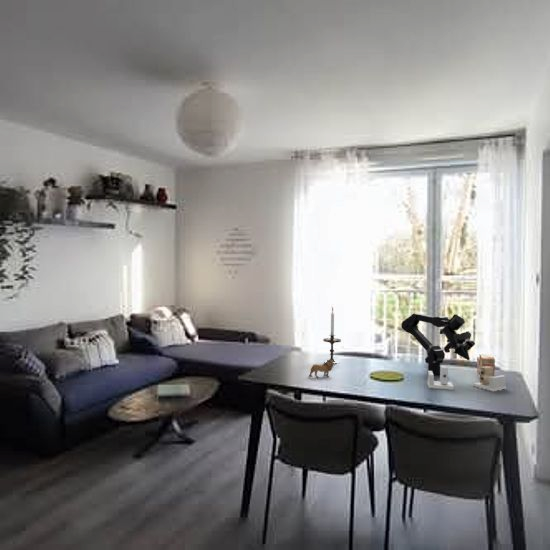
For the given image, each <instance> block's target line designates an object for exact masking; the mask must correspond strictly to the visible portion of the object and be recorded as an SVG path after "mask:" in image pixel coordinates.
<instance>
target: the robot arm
mask: <svg viewBox="0 0 550 550" xmlns="http://www.w3.org/2000/svg"><path fill="white" fill-rule="evenodd" d="M420 322H422V323H423V322H424V323H427V324H428V323H429V324H432V325H433V326H434V327H437V328H441V329H439V335H444V336H445V338H446V339H447V340H446V342H447V344H446V345H445V346H444V347H443V349H442V347H441V346H439V345H433V343H432V342H431V341H430V340H429V339H428V338H427V337H426V335H424V334H423V333H422V332H421V331H420V330H419V327H418V326H419V323H420ZM464 324H466V321H465V319H464V318H462V317H461V316H459V314H456V313H454V314H453V316H452V317H451V318H449V317H448V316H433V315H428V314H424V313H423V314H422V313H419V312H417V313H416V312H415V313H412V314H411V315H410V316H408V317H407V318H405V319H404V320H402V322H401V326H400V327H401V329H402V330H403V331H405V332H406V333H408V334H410V335H412V337H413V338H414V339H415V340H416V341H417V342H418V343H419V344H420V346H422V348H423V349H424V350H425V351H426V355H427V356H426V357H425V358H424V361H425V363H426V364H427V374H428V371H432V372H433V374H434V375H435V376H440V365H441V364H443V362H444V360H445V355H446V354H447V353H451V352H450V351H451V350H453V353H454V354H456V355H458V356H460V357H461V358H463V359H465V360H466V361H470V359H471V358H470V355H469V354H470V353H469V351H470V350H471V349H472V348H473V347H474V346H475V345H476V343H475V341H474V340H468V339H471V337H472V334H471V333H470V331H465V332H462V333H457V332H456V331H459V330H460V328H461V327H462V326H463V325H464ZM445 353H446V354H445Z"/></svg>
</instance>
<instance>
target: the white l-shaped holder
mask: <svg viewBox="0 0 550 550" xmlns="http://www.w3.org/2000/svg"><path fill="white" fill-rule="evenodd" d="M473 386H476V387H475V388H477V387H479V388H478V389H481V388H483V389H482V390H485V389H487V390H486V391H489V390H490V391H489V392H498V391H497V390H499V391H503V390H502V389H505V390H507V376H506V375H503V374H502V375H496V376H495V375H494V377H489V384H482V383H480V381H479V382H475V383H474V382H473V383H472V387H473Z"/></svg>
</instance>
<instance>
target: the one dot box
mask: <svg viewBox="0 0 550 550" xmlns="http://www.w3.org/2000/svg"><path fill="white" fill-rule="evenodd" d="M427 371H428V370H427ZM434 379H435V376H434V374H433V372H432V371H428V373H427V381H426V384H427V386H428V388H429V389H437V390H455V389H454V387H455V386H454V385H453V383H452V381H448V384H441V382H440V380H439V381H438V380H434Z"/></svg>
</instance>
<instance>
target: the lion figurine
mask: <svg viewBox="0 0 550 550" xmlns="http://www.w3.org/2000/svg"><path fill="white" fill-rule="evenodd" d="M326 360H327V362H326V363H323V364H318V363H317V364H313V365H312V366H311V368H310V372H309V375H308V376H307V377H309V378H310V377H313V373H314V376H315V378H319V376H318V375H317V374H318V372H321V373H323V376H324V377H327V378H329V377H330V376H329V374H330V372H331V371H332V370H333V368H334V365H335V364H334V363H333V361H332V360H330V358H329V359H326Z"/></svg>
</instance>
